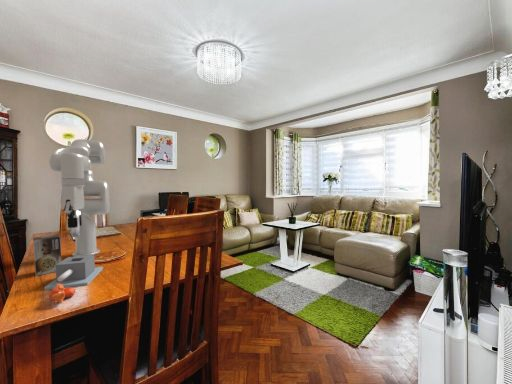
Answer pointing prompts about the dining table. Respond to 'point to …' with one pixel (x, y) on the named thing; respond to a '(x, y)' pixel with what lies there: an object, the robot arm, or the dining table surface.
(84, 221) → the robot arm
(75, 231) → the key peg
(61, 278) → the grey socket block
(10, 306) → the dining table surface
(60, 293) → the orange toy bird
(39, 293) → the dining table surface
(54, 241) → the coffee box
